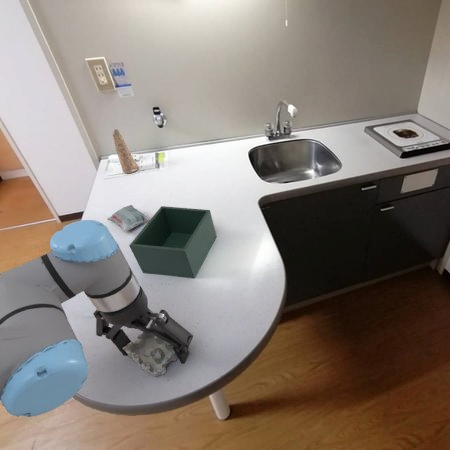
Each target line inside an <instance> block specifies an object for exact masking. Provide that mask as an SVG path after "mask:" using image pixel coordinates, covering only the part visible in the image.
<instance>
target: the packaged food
mask: <svg viewBox="0 0 450 450" xmlns="http://www.w3.org/2000/svg"><path fill="white" fill-rule="evenodd" d="M106 220H107V221H109V222H112V223H114V224H116V225H117V226H119V227H120V228H121V229H122V231H123V232H124V233H126V232H128V231H130V230H132V229H134V228H136V227H137V226H139V225H141V224H143V223H147V221H149V218H148V217H147V216H146V215H145V214H144V213H143V212H141V211H140V210H138V209H136V208H135V207H134V206H133V205H132V204H130V205H127V206H124V207H122V208H119V209H118V210H116V211H115V212H114V213H112V214H111V216H109V217H107V218H106Z"/></svg>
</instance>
